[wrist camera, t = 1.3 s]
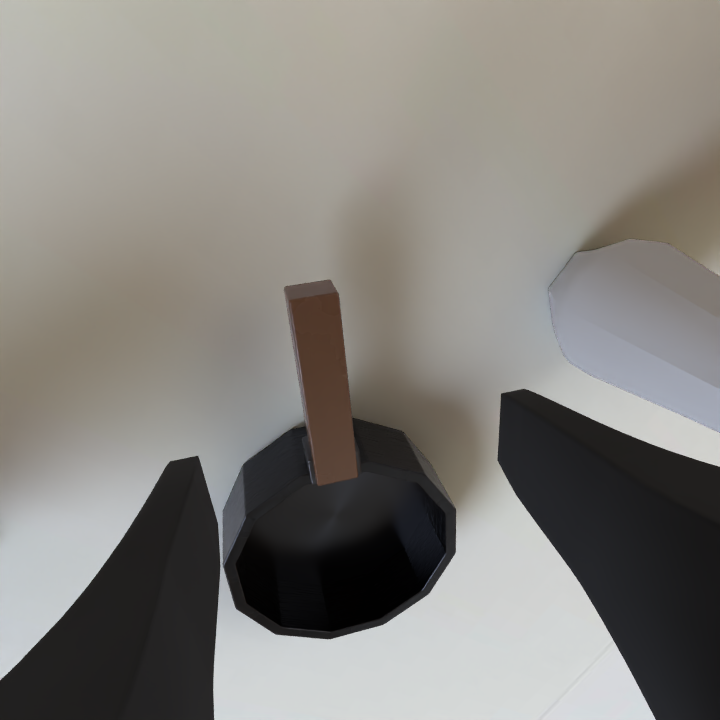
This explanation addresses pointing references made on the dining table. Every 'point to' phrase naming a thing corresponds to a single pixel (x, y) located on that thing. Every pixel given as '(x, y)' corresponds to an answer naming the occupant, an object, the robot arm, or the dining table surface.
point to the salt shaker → (643, 324)
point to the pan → (333, 503)
